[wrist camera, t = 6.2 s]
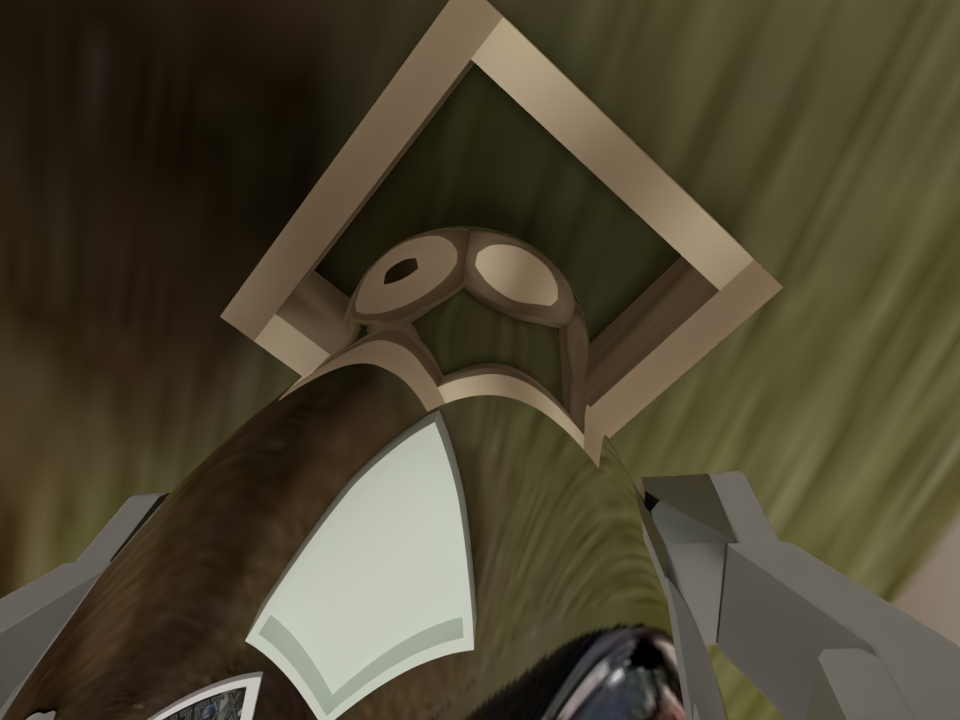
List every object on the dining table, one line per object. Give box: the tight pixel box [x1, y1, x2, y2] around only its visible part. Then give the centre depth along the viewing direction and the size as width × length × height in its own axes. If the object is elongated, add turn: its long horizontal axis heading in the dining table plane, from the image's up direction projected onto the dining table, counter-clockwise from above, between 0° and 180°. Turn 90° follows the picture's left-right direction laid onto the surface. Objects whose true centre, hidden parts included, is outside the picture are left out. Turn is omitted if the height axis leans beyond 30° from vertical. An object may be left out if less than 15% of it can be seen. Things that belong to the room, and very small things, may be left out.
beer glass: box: [0, 226, 729, 720], centre depth 10 cm, size 7×7×15 cm
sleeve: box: [220, 0, 783, 438], centre depth 21 cm, size 11×11×4 cm
